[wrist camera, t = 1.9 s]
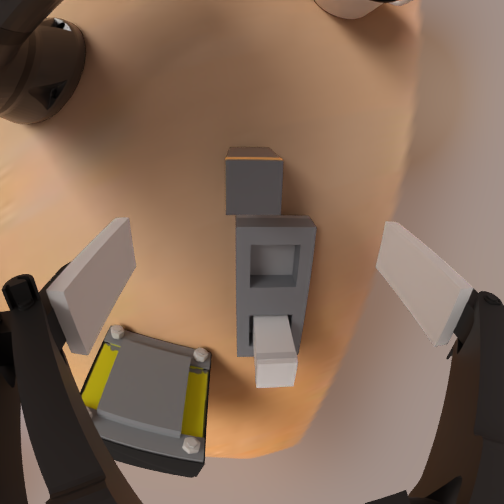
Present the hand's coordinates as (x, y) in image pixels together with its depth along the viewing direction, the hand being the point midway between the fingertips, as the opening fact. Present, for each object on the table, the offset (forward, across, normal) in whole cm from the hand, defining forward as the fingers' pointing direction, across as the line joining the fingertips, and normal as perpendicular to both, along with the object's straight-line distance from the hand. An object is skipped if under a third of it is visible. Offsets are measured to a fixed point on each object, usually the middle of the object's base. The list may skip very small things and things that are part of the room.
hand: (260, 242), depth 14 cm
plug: (+21, 0, 0) cm, 21 cm away
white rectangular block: (+20, +3, -21) cm, 29 cm away
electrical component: (+21, -14, -30) cm, 39 cm away
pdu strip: (+21, +3, -16) cm, 26 cm away
